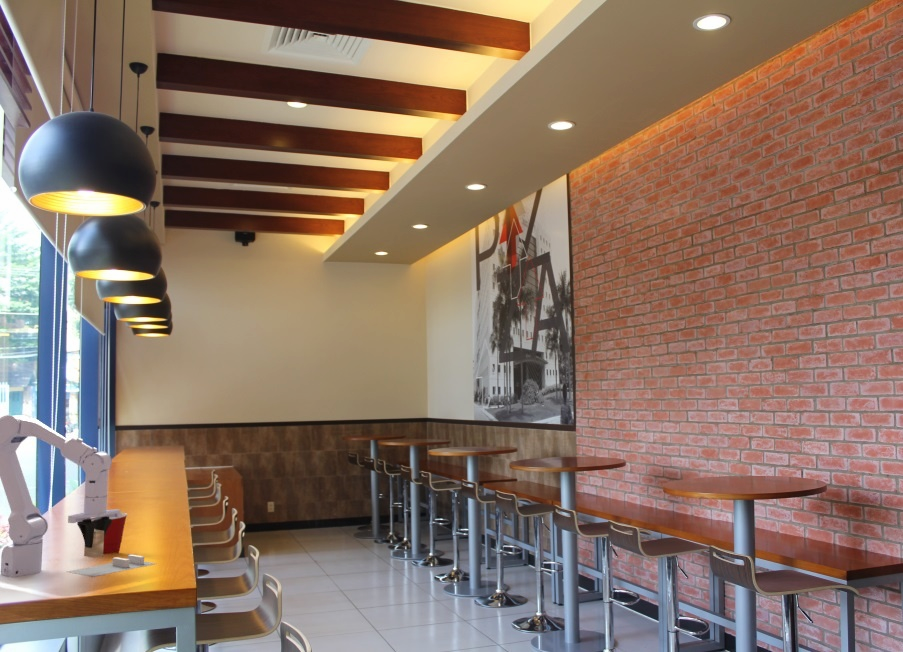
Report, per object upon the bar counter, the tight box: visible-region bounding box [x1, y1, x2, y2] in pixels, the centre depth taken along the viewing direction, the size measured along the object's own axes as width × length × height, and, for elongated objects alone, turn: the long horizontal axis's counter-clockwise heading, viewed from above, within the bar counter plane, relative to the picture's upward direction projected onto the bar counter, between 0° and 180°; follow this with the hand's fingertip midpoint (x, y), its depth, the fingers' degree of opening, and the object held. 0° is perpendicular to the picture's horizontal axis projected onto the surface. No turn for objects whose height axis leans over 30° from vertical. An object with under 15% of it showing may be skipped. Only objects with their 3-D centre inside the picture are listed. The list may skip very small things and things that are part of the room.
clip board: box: [66, 554, 157, 578], centre depth 221 cm, size 20×12×3 cm, turn 147°
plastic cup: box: [91, 512, 128, 555], centre depth 246 cm, size 11×11×12 cm
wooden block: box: [83, 529, 104, 559], centre depth 217 cm, size 2×5×7 cm, turn 57°
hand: (93, 546), depth 217 cm, fingers closed on wooden block, 2 cm apart
